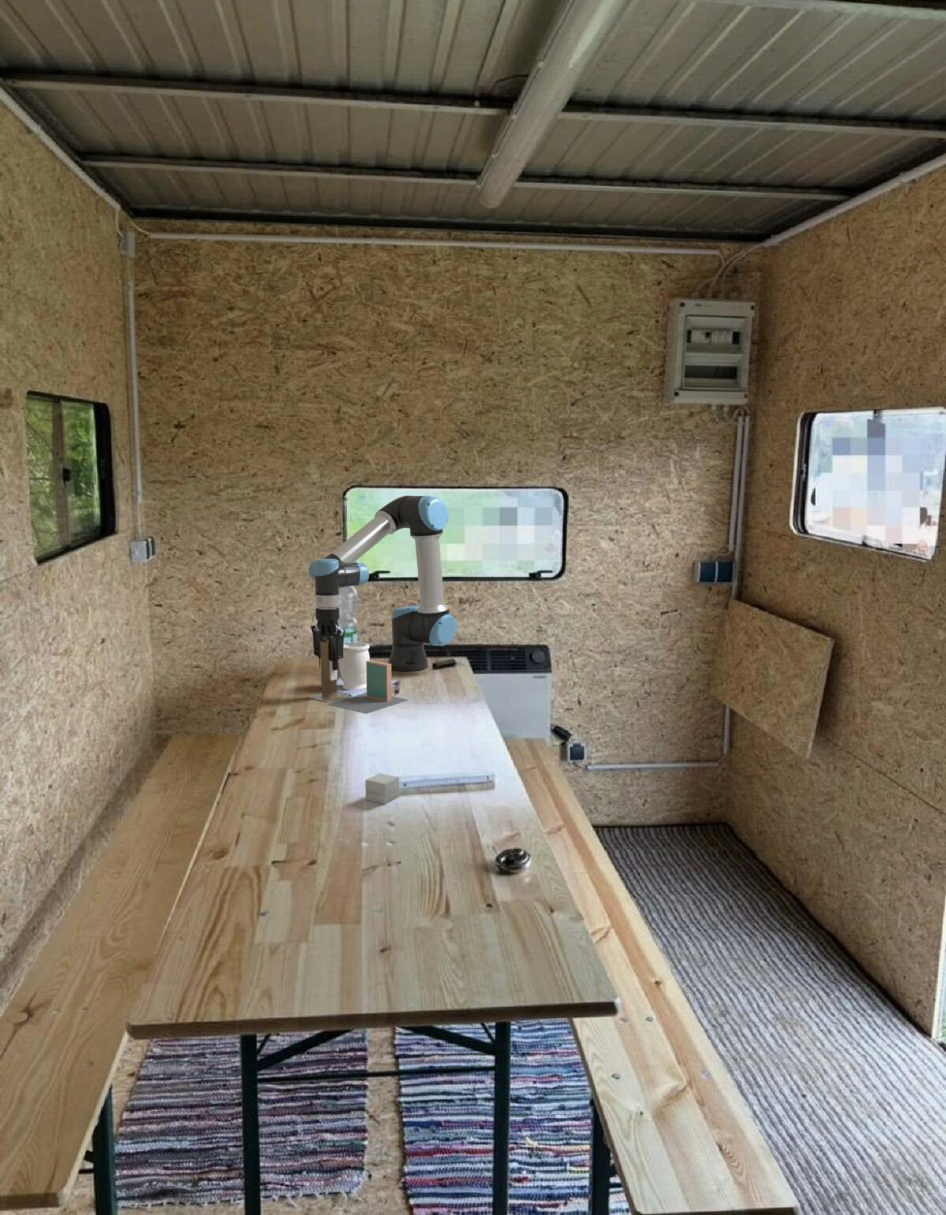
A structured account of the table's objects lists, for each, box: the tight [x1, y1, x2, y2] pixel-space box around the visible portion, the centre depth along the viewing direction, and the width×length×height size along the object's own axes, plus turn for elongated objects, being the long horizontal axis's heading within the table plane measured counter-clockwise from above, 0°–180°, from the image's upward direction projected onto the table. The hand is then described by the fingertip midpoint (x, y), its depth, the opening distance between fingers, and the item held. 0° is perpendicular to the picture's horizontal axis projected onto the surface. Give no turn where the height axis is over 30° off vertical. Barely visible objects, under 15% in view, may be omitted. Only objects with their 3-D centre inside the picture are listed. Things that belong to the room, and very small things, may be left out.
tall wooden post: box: [308, 640, 350, 703], centre depth 281 cm, size 10×8×19 cm
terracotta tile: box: [366, 659, 393, 702], centre depth 279 cm, size 2×9×12 cm, turn 54°
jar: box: [338, 641, 371, 691], centre depth 295 cm, size 11×10×15 cm
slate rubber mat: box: [326, 692, 409, 715], centre depth 276 cm, size 20×17×1 cm
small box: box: [364, 772, 400, 805], centre depth 197 cm, size 6×6×5 cm
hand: (328, 678), depth 281 cm, fingers closed on tall wooden post, 3 cm apart
